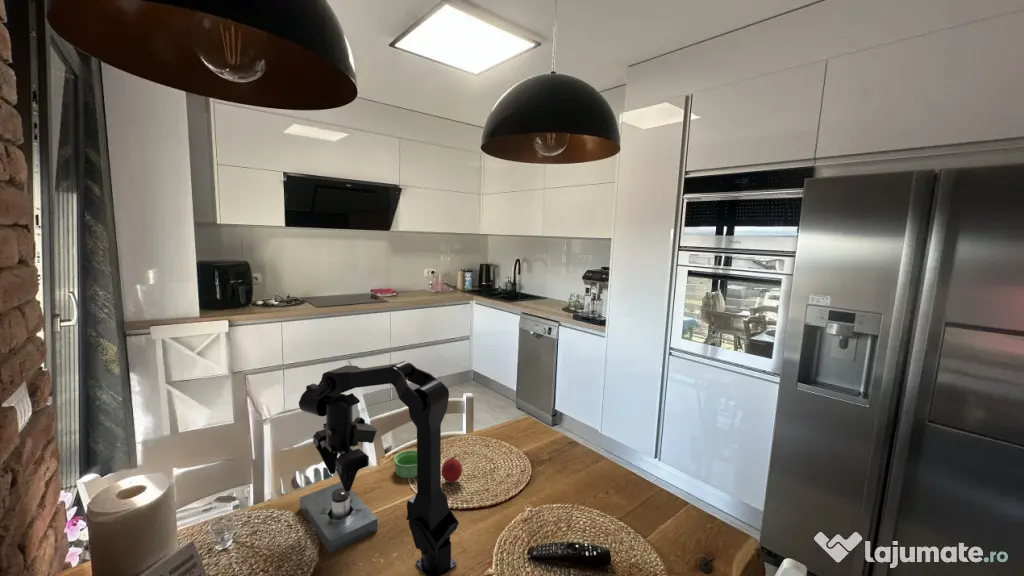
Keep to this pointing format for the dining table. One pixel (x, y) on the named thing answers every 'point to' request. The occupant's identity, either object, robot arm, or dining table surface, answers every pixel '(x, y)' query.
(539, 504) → the dining table surface
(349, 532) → the jig
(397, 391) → the robot arm
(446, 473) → the onion
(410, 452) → the ramekin
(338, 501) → the metal cylinder peg
